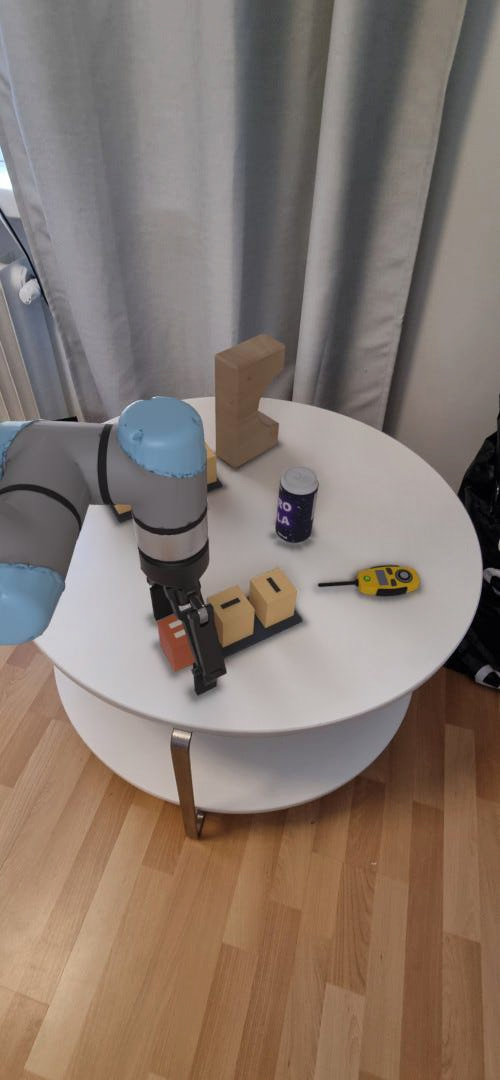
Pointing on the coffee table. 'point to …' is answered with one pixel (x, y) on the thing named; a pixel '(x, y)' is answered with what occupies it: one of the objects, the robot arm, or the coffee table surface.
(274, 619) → the tan boxes on tray
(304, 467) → the beverage can
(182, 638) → the pause symbol cube
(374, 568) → the yellow walkie talkie
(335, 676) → the coffee table surface
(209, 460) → the tan cubes
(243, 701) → the coffee table surface
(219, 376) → the decorative block
